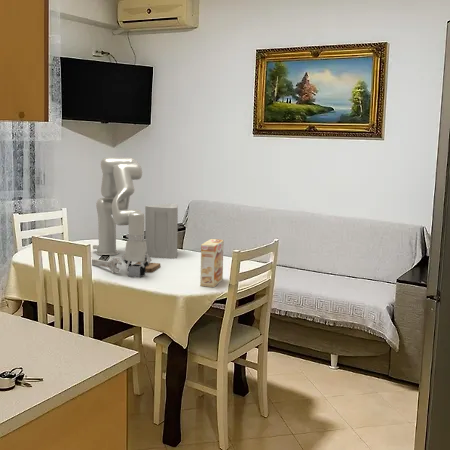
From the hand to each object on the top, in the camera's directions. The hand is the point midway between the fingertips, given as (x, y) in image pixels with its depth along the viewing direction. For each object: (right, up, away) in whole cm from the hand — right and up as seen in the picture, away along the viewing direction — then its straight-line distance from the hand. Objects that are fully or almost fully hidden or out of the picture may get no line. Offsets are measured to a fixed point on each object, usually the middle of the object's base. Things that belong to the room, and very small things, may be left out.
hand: (136, 273), depth 286 cm
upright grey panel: (+10, +6, +42) cm, 44 cm away
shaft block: (+2, +1, +13) cm, 13 cm away
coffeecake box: (+37, -4, -9) cm, 38 cm away
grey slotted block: (0, -1, 0) cm, 1 cm away
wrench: (-18, +1, +10) cm, 20 cm away
